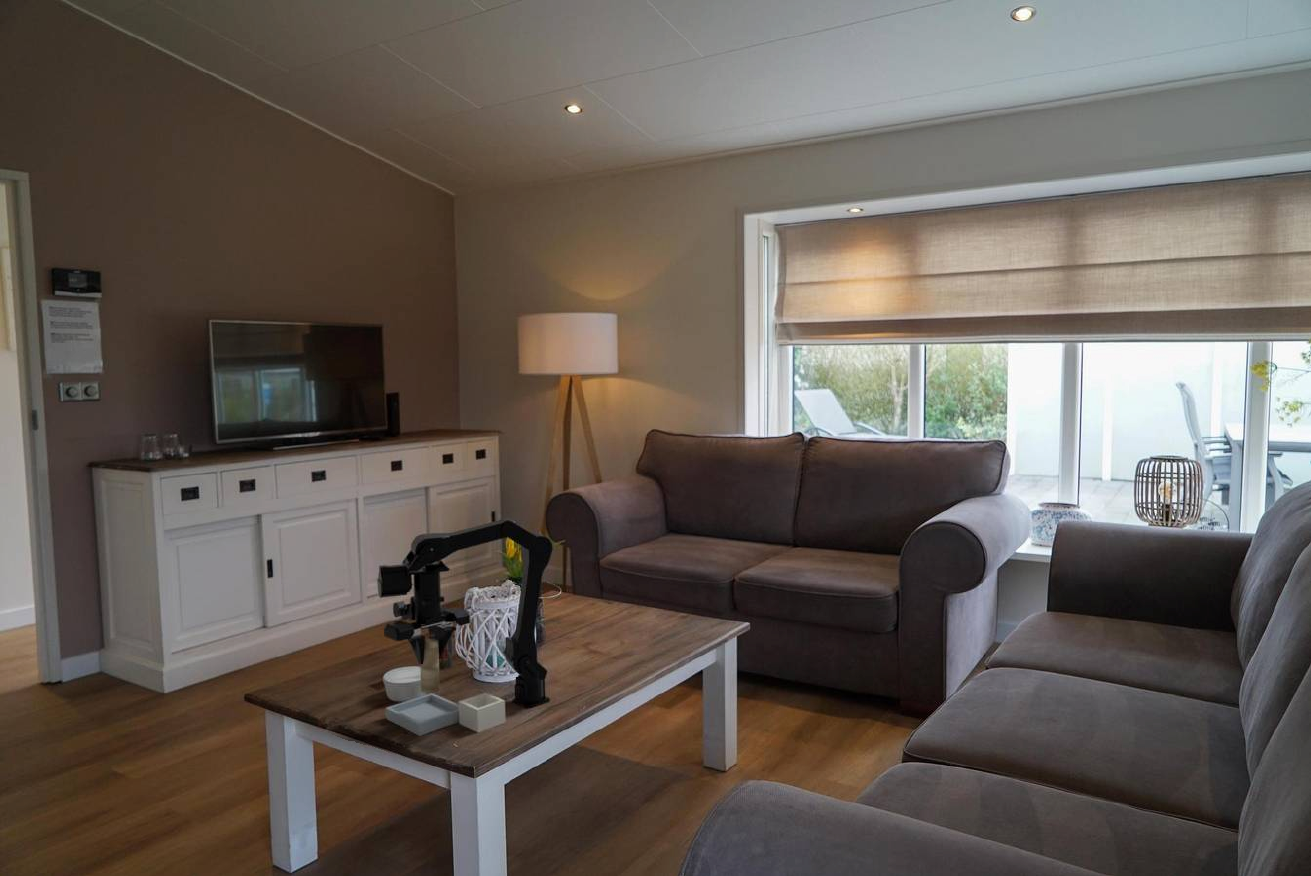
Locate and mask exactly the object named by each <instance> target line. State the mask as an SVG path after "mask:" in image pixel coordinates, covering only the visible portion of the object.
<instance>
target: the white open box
mask: <svg viewBox="0 0 1311 876" xmlns="http://www.w3.org/2000/svg"><path fill="white" fill-rule="evenodd" d="M458 705H459V722H458V723H459V725H461V726H463V727H466V728H468V729H469V730H472V731H474V732H476V733H481V732H484V731H487V730H489V729H492V728H495V727H497V726H499V725H500V726H501V725H503V724H505V723H507V721H506V700H505V699H502V698H500V697H497V696H494V695H493V694H490V693H488V692H483V693H480V694H477V695H474V696H471V697H469V698H466V699H465V698H464V699H462V700H459V701H458Z"/></svg>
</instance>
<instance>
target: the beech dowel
mask: <svg viewBox="0 0 1311 876" xmlns="http://www.w3.org/2000/svg"><path fill="white" fill-rule="evenodd" d="M419 667H420V671H421V692H422V693H426V695H428V694H431V693H433V694H436V693H437V692H438V693H439V691H440V690H441V689H440V686H441V685H440V670H439V648H438V640H436V639H429V638H427V639H426V638H425V648H424V660H423V664H419Z"/></svg>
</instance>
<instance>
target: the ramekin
mask: <svg viewBox="0 0 1311 876" xmlns="http://www.w3.org/2000/svg"><path fill="white" fill-rule="evenodd" d="M382 681H383V684H384V688H385V689H384V690H385V692H386V693H385V694H386V695H387V698H388V699H389V700H390V701H393V702H399V703H403V702H406V701H409V700H412V699H415V698H419V697H422V696H425V695H427V694H426V693H422V692H421V671H420V666H416V665H415V666H403V667H398V668H394V669H391V670H388V671H387V672H386V673H384V675H383V677H382Z"/></svg>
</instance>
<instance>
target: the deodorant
mask: <svg viewBox="0 0 1311 876" xmlns="http://www.w3.org/2000/svg"><path fill="white" fill-rule="evenodd" d="M451 608H452V607H448V606H441V613H442V612H443V610H447V609H451ZM427 631H428V639H435V634H434V631H433V629H432V627H429V628H427ZM453 648H454V647H453V634H452V635H451V637H450V638H449V640H448V642H447V644H446V646H445V649H444V651H443V653H442V655H441V658H440V659H439V671H440V670H446V669H445V668H447V669H449V668H448V667H450V668H452V667H453V666H454V651H453ZM452 665H453V666H452ZM451 666H452V667H451Z"/></svg>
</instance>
